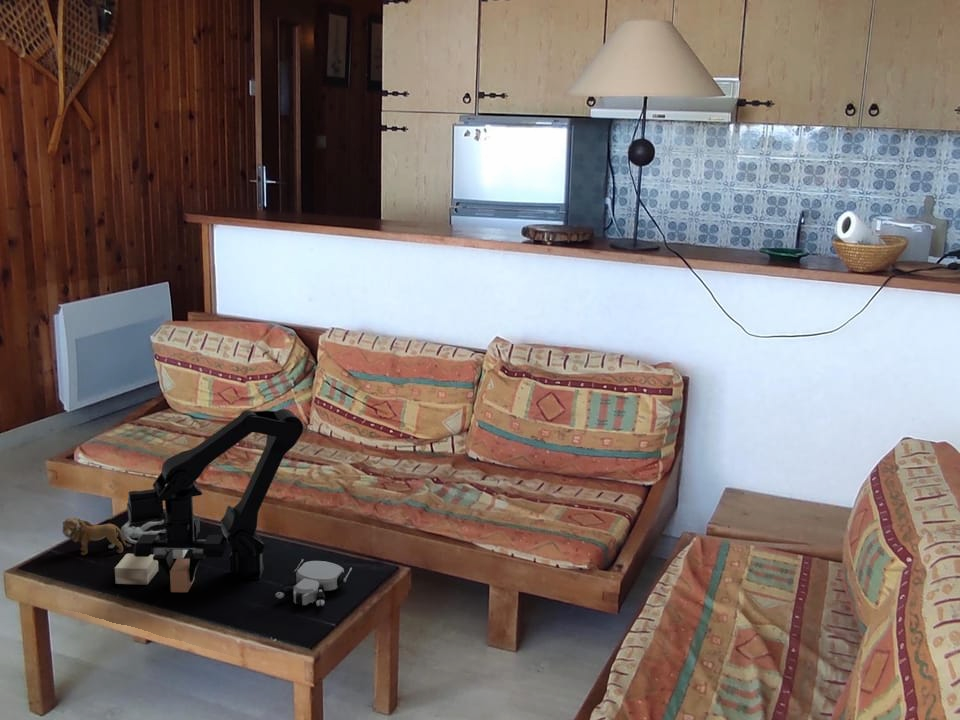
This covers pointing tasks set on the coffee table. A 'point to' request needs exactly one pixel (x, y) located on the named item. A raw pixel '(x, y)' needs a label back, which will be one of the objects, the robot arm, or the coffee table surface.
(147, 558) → the birch block
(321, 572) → the robot toy
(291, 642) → the coffee table surface
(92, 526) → the lion figurine
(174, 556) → the off-white brick
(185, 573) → the terracotta brick
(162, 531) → the soldier figure
